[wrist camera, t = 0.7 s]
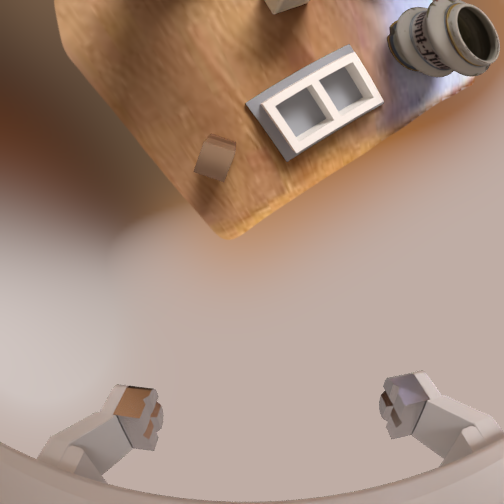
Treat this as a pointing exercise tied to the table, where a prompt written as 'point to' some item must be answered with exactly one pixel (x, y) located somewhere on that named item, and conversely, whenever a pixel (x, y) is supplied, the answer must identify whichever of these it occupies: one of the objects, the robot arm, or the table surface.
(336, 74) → the slot rack
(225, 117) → the table surface
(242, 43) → the table surface
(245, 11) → the table surface
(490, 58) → the apothecary jar
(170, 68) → the table surface
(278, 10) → the skincare box
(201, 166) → the walnut peg
